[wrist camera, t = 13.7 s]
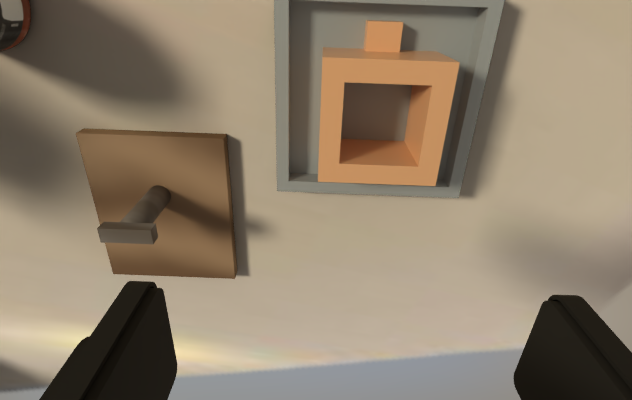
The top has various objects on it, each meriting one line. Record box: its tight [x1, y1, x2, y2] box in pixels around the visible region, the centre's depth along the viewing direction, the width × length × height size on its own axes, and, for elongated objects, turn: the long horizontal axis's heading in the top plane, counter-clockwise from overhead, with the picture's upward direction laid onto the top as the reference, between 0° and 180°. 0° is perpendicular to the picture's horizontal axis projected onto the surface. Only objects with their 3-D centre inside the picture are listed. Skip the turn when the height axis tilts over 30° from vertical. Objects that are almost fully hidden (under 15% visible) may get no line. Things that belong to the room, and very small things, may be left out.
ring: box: [318, 20, 460, 186], centre depth 23 cm, size 9×7×4 cm
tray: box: [274, 0, 505, 198], centre depth 25 cm, size 13×13×2 cm
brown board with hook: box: [76, 129, 237, 279], centre depth 27 cm, size 12×10×6 cm
